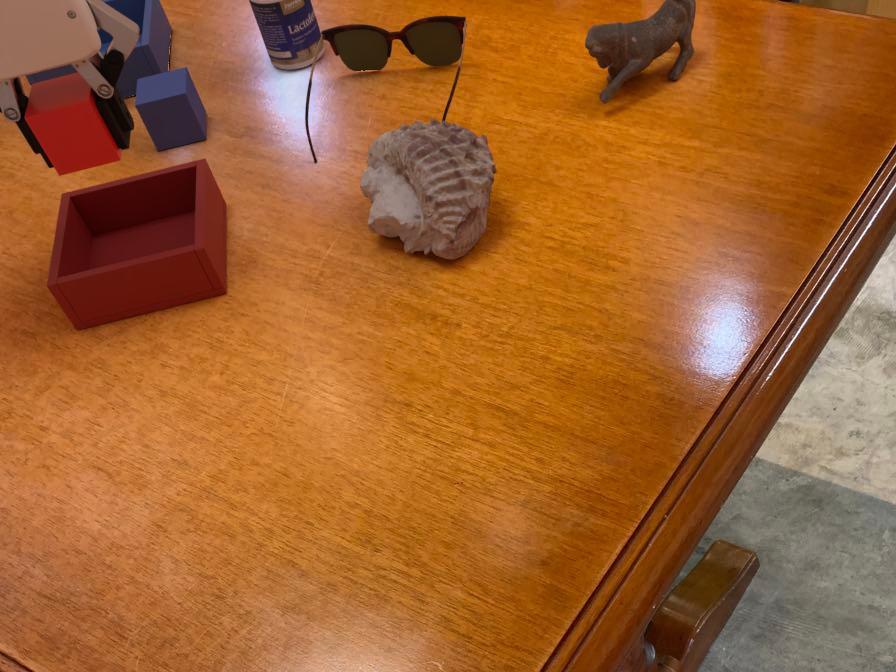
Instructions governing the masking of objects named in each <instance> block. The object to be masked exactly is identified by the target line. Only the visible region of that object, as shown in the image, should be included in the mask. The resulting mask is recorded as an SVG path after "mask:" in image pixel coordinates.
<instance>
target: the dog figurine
mask: <svg viewBox="0 0 896 672" xmlns="http://www.w3.org/2000/svg"><path fill="white" fill-rule="evenodd" d="M696 10H697V3H696V0H664V1H663V3H662V4H661V5H660V7H659V9H658V10H656V11H655V12H654V13H653V14H652V15H650V17H648V18H645V19H639V20H634V21H629V22H621V21H618V22H614V23H603V24H598V25H597V24H595V25H592V26H591V27H590V28H589V29H588V31H587V34H586V37H585V40H584V47H585V48H586V49H587V51H588V54H589V56H590V57H591V58H592V59H593V58H594V59H596V62H597V65H598V67H599V68H600V69H602V70H603V69H604V70H605V69H606V70H607V74H608V75H607V76H606V78H605V79H606V81H607V83H608V84H607V86H606V87H605V88H604V89H603V90H602V91H601V92H600V93H599V96H598V99H599V101H600V102H601V103H602V104H608V103H610V102H611V101H612V100H613V96H615V95H616V94H617V93H618V92H619V90H620V88H621V86H622V85H623V84H624V83H625V82H626V81H627V80H629V79H631V78H633V77H634V76H636V75H638V74H640V73H642V72H643V71H645V70H646V69H648V68H649V67H650V66H651V65H652V63H653V62H654V61H655V60H656V59H658V58H660V57H661V56H663V55H664V54H665V53H666V52H667V51H668V50H670V48H672V47H673V46H674V45H675V44H676V43H677V44H678V46H679V54H678V56H677V58H676V60H675V62H674V64H673V66H671V69H670V70H669V72H668V74H667V78H668V79H670V80H673V81H676V80H678V79H680V78H681V73H682V72H684V71H685V69H686V67H687V64H688V62H689V61H690V60H691V59H692V58H693V56H694V54H695V49H694V46H693V45H694V44H693V41H692V34H693V30H694V26H695V20H696Z"/></svg>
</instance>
